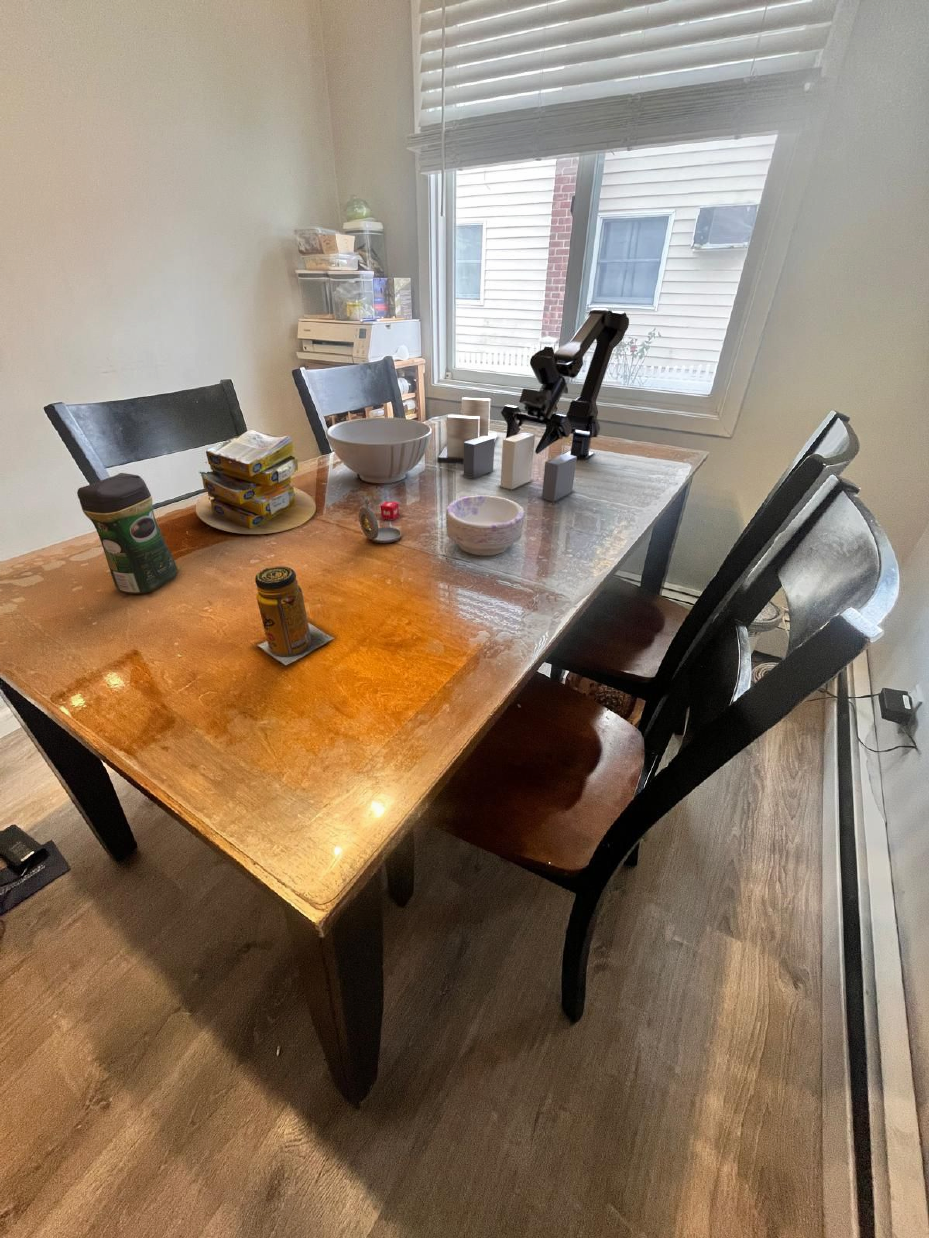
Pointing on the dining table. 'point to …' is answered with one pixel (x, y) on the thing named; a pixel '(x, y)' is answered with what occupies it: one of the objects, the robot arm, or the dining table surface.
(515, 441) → the white book
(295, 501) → the stacked yellow boxes
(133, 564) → the coffee jar
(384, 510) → the dice
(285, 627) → the condiment
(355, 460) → the decorative bowl
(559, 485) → the gray bookends
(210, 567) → the dining table surface
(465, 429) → the book rack
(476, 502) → the cream and purple bowl
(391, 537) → the pocket watch
